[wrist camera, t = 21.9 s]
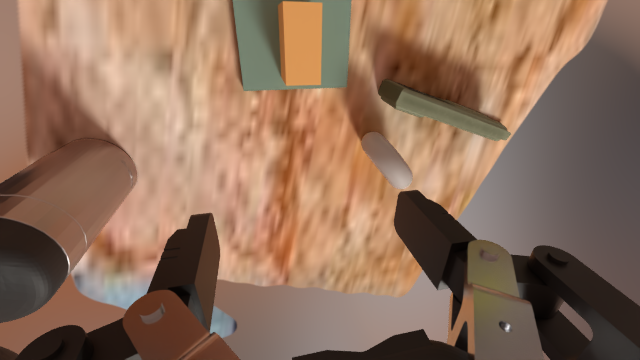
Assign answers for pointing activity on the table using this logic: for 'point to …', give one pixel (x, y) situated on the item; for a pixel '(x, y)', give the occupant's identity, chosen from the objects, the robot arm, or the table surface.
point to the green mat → (264, 46)
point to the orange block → (300, 42)
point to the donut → (387, 160)
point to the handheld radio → (441, 110)
